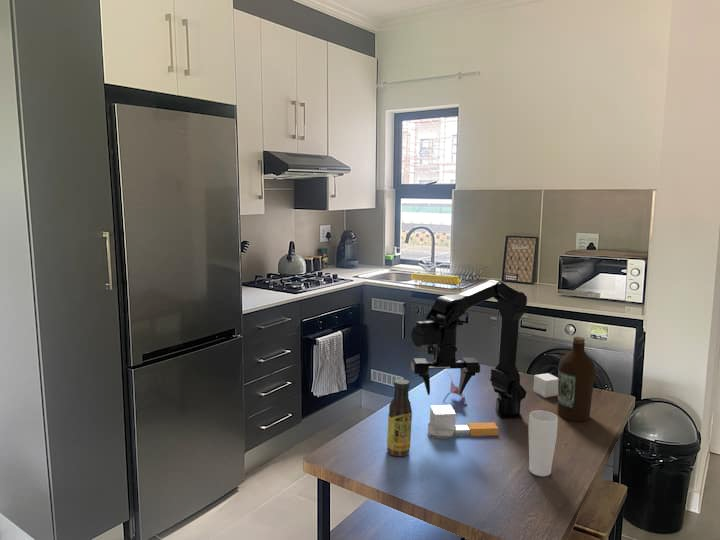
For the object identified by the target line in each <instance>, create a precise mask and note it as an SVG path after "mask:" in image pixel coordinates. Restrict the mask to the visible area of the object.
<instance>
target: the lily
mask: <svg viewBox="0 0 720 540" xmlns="http://www.w3.org/2000/svg"><path fill="white" fill-rule="evenodd" d="M447 374H448V375H449V377H450V381H451V382H450V390H449V392H448V393H447V394H446V396H445V397H444V399H443V401H442V403H444V402H445V401H446V399H447V398H448V396H449V395H450V394H455V395H457V396H460V397H461V399H462V400H463V401H464V402H465V404H466V405H468V403H467V401H466V400H465V395H464V394H463V393H462V394H459V386H456V385H455V384H454V382H453V379H452V375H450V373H449V372H447Z"/></svg>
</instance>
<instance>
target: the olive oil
mask: <svg viewBox="0 0 720 540" xmlns="http://www.w3.org/2000/svg"><path fill="white" fill-rule="evenodd" d="M585 340H586V339H585V338H584V337H581V336H574V337H573V342H572V348H571V350H570V351H569V352H567V353H566V354H565V355H563V357H562V358H560V361H559V363H558V368H557V371H558V372H557V373H558V374H557V378H558V396H557V408H556V409H557V410H556V412H557V415H558V416H559V417H561V418H562V419H565V420H568V421H571V422H586V421H588V420H589V419H590V417H591V416H590V415H591V407H592V400H593V399H592V397H593V391H594V385H595V384H594V383H595V378H596V365H595V363H594V361H593V360H592V358H591V357H590V355H588V354H587V353H586V351H585V347H586V346H585Z"/></svg>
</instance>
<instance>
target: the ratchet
mask: <svg viewBox="0 0 720 540" xmlns="http://www.w3.org/2000/svg"><path fill="white" fill-rule="evenodd" d="M428 434H429V435H430V436H431V438H432V437H433V438H432V439H434V438H435V439H434V440H437V439H439V441H450V440H453V439H454V438H456V437H458V436H457V435H470V437H478V436H479V437H481V436H482V435H483V436H482V437H484V436H485V435H490V436H499V427H498V426H497V425H496V423H495V422H467V423H466V424H455V430H449V431H434V429H433V427H432V425H431V423H430V421H429V422H428V423H427V435H428ZM429 435H428V436H429ZM430 436H429V437H430ZM452 438H453V439H452ZM449 439H450V440H449Z"/></svg>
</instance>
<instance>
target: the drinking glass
mask: <svg viewBox="0 0 720 540" xmlns="http://www.w3.org/2000/svg"><path fill="white" fill-rule="evenodd" d="M558 419H559V417H558V416H557V414H556V413H553V412H550V411H548V410H543V409H542V410H541V409H539V410H532V411H530V413H529V417H528V458H529V459H528V461H529V462H528V470H529V471H530V473H531V474H533V475H534V476H536V477H537V476H538V477H543V478H544V477H548V476H550V475H551V473H552V469H553V468H552V467H553V460H554V455H555V448H556V441H557V436H558V427H559V426H558V424H559V423H558V422H559V420H558Z"/></svg>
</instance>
